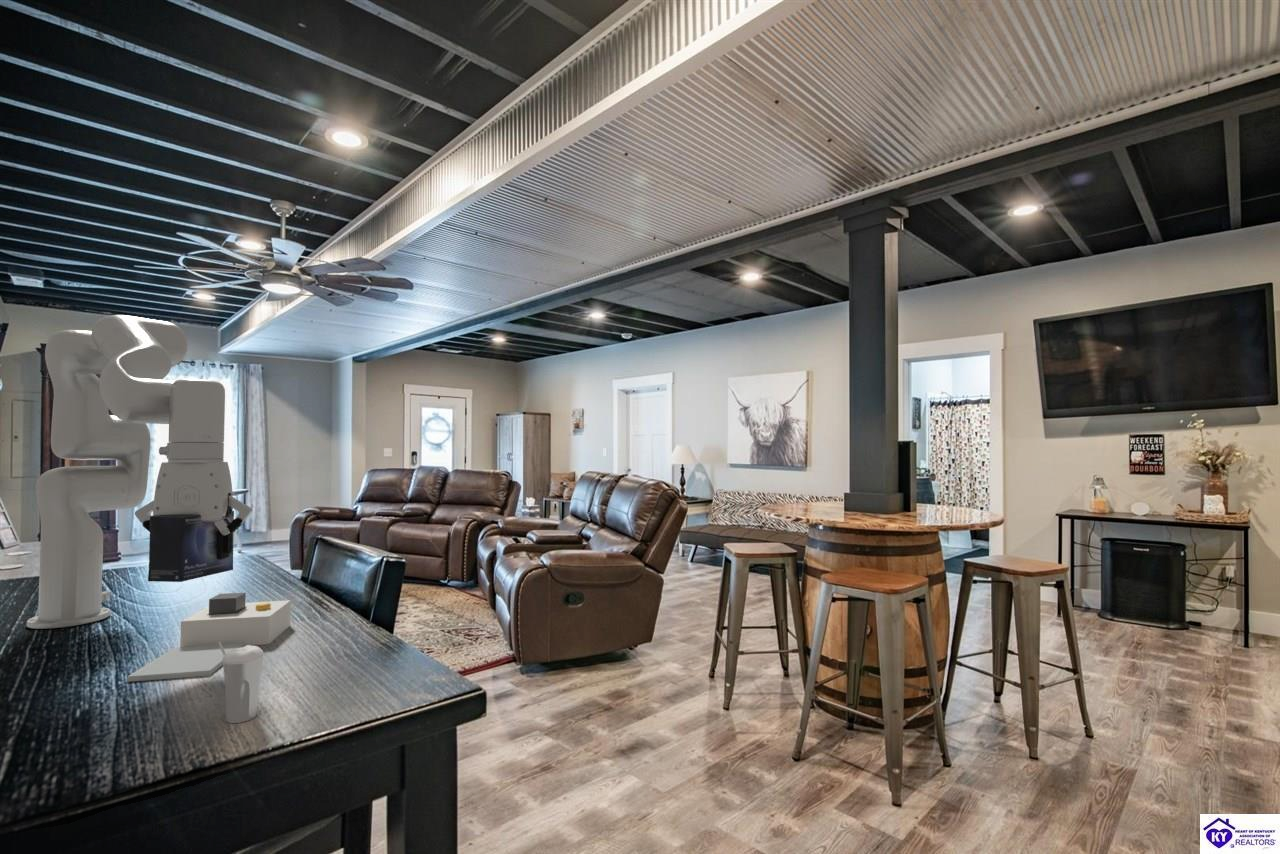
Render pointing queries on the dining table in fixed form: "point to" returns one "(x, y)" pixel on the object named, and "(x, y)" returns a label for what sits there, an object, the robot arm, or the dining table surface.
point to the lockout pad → (184, 662)
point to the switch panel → (237, 625)
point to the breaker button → (227, 603)
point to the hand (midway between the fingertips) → (193, 558)
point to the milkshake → (242, 682)
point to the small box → (184, 548)
